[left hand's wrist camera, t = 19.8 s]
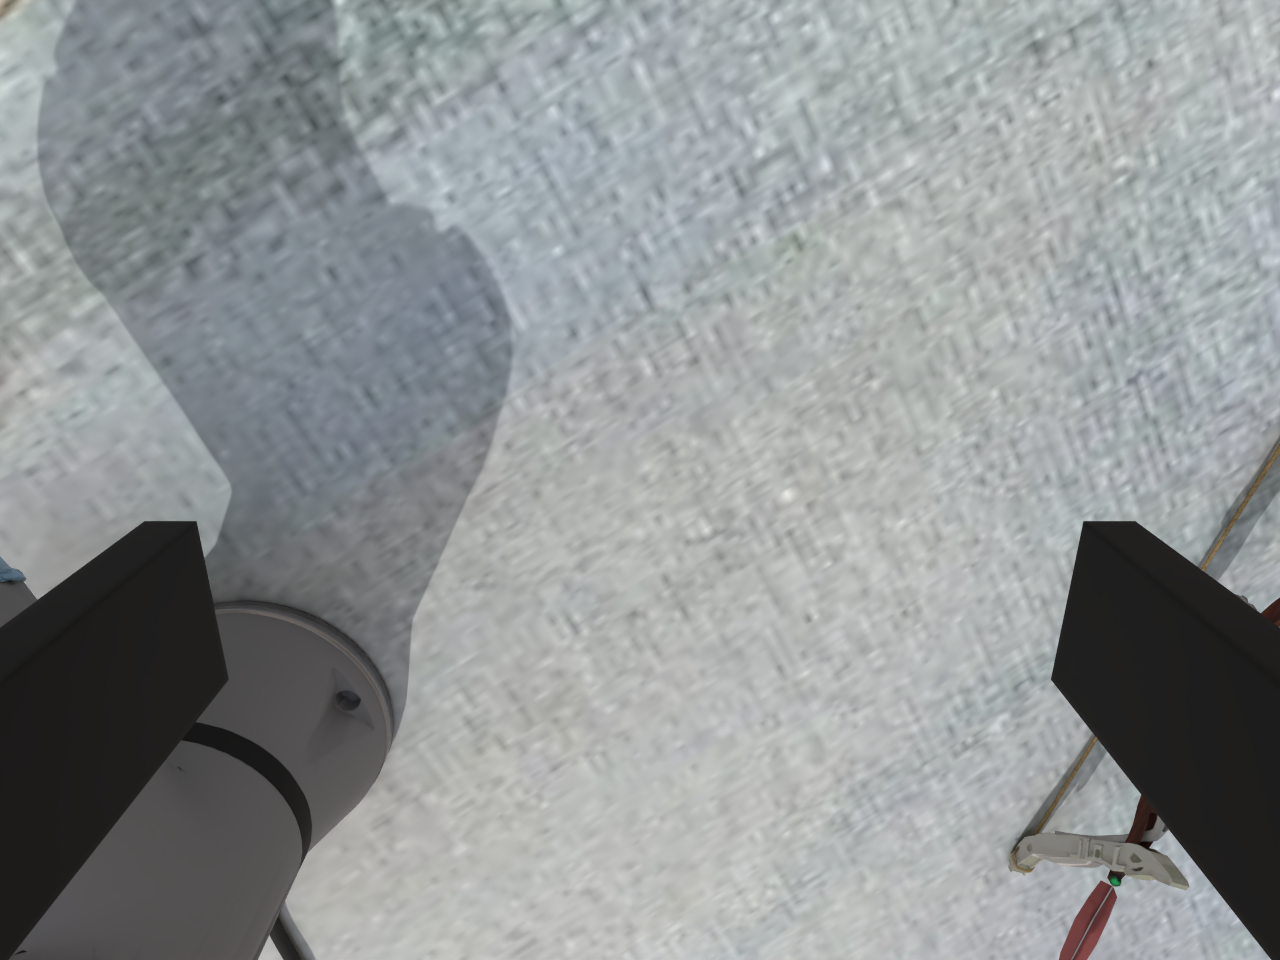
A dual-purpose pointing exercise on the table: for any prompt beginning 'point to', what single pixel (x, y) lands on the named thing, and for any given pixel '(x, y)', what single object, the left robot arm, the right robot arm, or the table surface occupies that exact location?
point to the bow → (1114, 850)
